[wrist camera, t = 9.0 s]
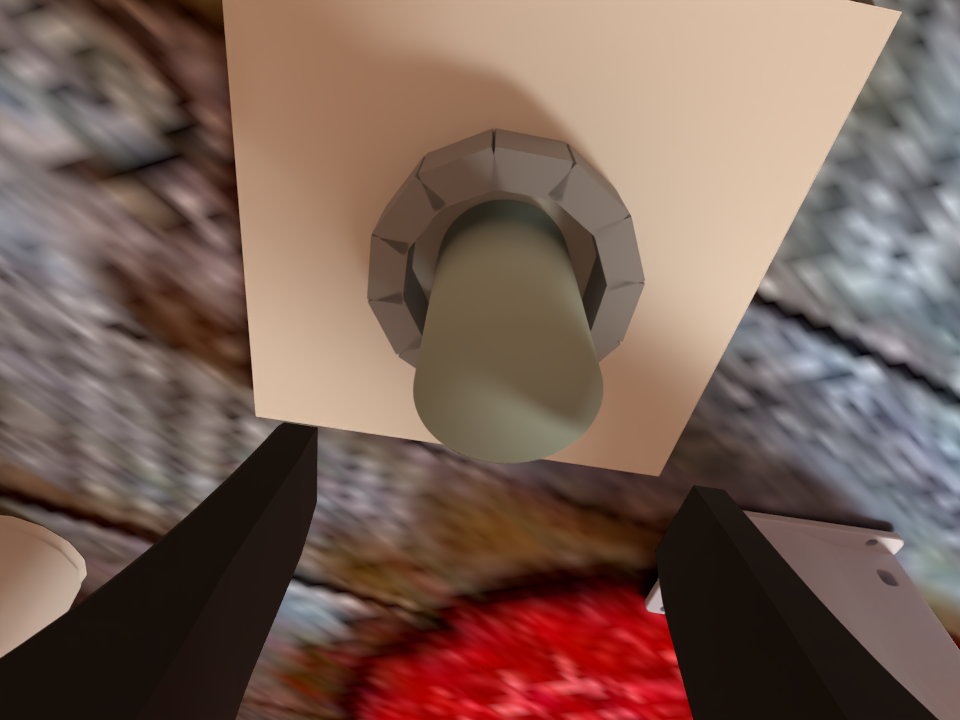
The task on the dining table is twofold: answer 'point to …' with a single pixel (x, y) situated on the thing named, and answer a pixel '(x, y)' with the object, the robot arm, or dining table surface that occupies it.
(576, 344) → the grey rounded piece
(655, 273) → the socket plate
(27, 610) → the foam cup
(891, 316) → the dining table surface
